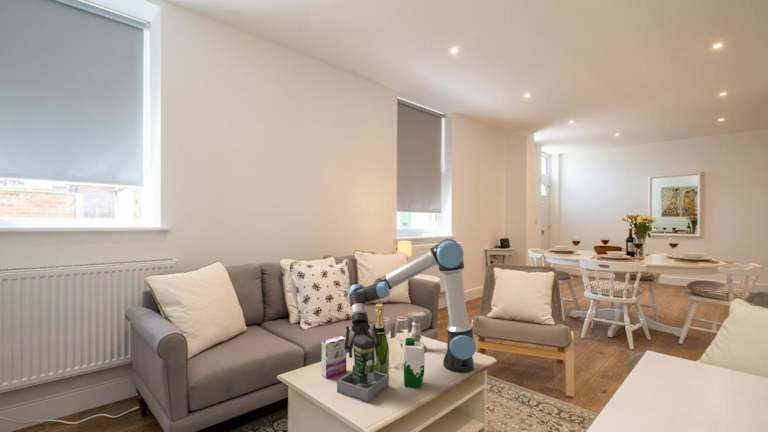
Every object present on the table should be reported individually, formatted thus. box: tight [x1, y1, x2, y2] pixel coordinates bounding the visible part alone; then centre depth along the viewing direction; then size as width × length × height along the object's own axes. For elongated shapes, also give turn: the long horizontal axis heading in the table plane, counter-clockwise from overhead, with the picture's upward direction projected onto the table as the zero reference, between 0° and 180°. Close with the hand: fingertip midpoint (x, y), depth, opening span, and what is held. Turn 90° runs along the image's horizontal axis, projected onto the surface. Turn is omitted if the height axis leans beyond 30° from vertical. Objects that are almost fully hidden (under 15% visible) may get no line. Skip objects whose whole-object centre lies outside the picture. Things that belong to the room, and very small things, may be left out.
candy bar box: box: [321, 335, 347, 379], centre depth 174 cm, size 11×5×16 cm, turn 129°
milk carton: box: [403, 337, 426, 390], centre depth 165 cm, size 9×9×20 cm
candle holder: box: [406, 310, 428, 352], centre depth 207 cm, size 12×12×20 cm
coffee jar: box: [351, 335, 376, 384], centre depth 159 cm, size 10×8×19 cm
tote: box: [336, 371, 390, 404], centre depth 160 cm, size 16×17×5 cm
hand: (364, 364), depth 156 cm, fingers closed on coffee jar, 9 cm apart
